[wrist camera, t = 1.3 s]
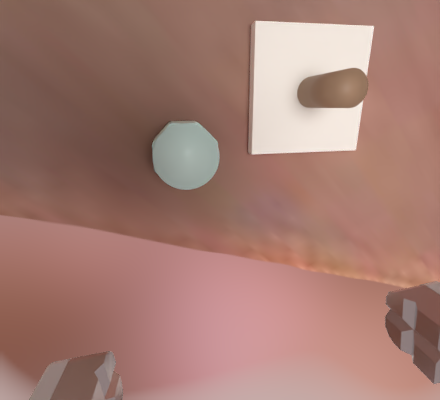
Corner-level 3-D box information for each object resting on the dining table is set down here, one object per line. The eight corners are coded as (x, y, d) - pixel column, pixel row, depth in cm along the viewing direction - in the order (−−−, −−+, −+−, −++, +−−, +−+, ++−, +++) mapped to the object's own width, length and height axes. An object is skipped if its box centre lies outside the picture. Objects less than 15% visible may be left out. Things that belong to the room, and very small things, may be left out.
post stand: (251, 25, 28) (284, -7, 20) (364, 29, 30) (434, 2, 23) (248, 152, 32) (274, 167, 25) (348, 148, 35) (402, 160, 27)
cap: (151, 121, 29) (149, 124, 25) (211, 120, 31) (219, 122, 26) (156, 179, 31) (155, 191, 27) (212, 176, 33) (219, 187, 28)
